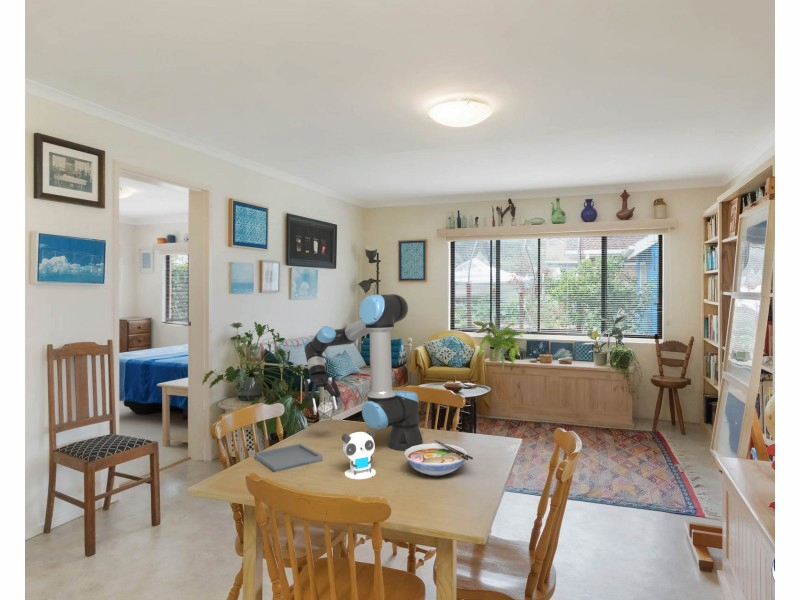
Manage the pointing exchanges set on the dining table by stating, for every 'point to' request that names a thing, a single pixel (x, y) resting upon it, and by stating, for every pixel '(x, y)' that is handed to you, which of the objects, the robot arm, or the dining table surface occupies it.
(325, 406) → the game die
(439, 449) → the ramen bowl
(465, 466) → the dining table surface
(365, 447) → the panda figurine
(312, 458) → the tray
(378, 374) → the robot arm
